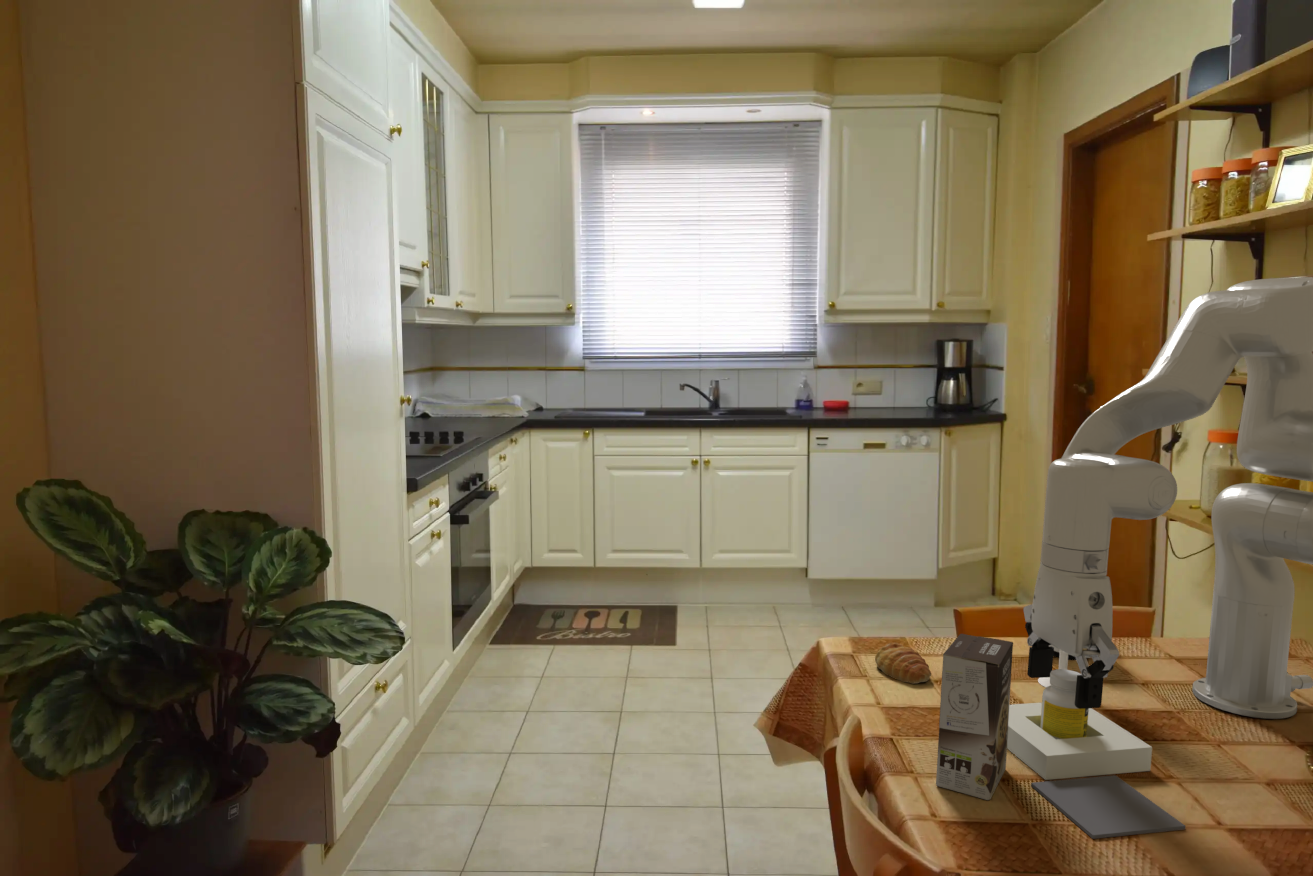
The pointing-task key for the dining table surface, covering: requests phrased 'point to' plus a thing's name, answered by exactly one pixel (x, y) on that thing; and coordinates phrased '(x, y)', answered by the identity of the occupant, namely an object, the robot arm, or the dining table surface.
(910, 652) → the pastry
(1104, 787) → the mat
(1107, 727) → the socket block
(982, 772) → the coffee box
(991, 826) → the dining table surface
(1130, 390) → the robot arm
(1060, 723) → the supplement bottle
